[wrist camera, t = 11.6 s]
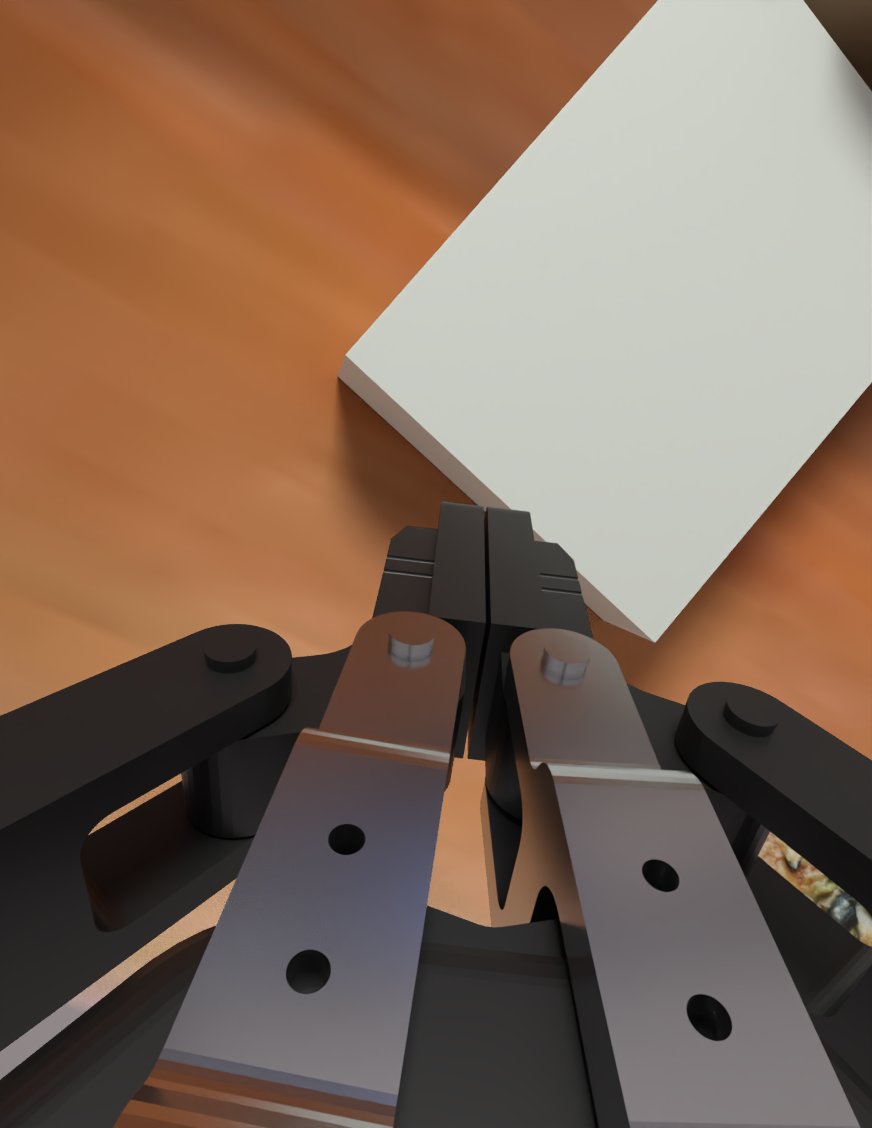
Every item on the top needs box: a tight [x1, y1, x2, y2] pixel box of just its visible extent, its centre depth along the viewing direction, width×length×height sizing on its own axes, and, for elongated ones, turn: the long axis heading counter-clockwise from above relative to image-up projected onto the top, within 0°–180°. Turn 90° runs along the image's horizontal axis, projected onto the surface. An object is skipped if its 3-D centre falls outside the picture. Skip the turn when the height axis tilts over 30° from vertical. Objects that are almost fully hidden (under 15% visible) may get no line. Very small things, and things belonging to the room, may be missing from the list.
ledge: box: [338, 0, 872, 643], centre depth 21 cm, size 12×16×4 cm
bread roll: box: [758, 832, 872, 947], centre depth 25 cm, size 11×11×5 cm
